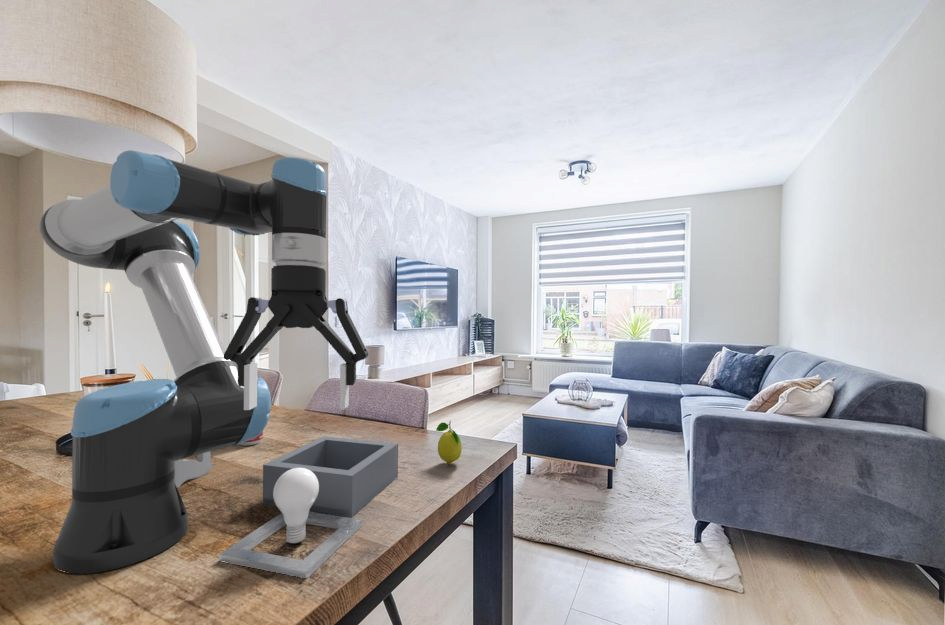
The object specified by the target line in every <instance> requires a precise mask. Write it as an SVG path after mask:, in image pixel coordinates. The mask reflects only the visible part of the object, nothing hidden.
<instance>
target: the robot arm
mask: <svg viewBox="0 0 945 625" xmlns="http://www.w3.org/2000/svg"><path fill="white" fill-rule="evenodd" d="M270 177H271V180H269V181H266V182H262V183H253V182H248V181H246V180H241V179H238V178H235V177H231V176H228V175H225V174H224V175H223V174H220V173H217V172H214V171H210V170H206V169H203V168H200V167H196V166H193V165H189V164H186V163H183V162H179V161H175V160H173V159H169V158H167V157H164V156H162V155H159V154H152V153H151V154H150V153H146V152H141V151H137V150H131V149H130V150H125V151H122V152H121V153H120V154H118V156H117V157H116V161H115V162H113V164H112V167H111V172H110V179H109V181H110V182H109V184H107V185H106V186H103V187H102V188H100V189H98V190H96V191H93V192H92V193H91V194H88V195H86V196H84V197H82V198H81V199H79V198H78V199H76V198H73V199H65V200H63V201H60V202H57V203H56V204H54V205H51V206H50V207H49V208H47V209H46V210H45V211H44V213H43V214H42V216H41V217H40V221H39V232H40V234H41V237H42V239H43V241H44V243H45V244H46V246H48V247H49V248H50V249H51V250H52V251H53V252H55V254H57V255H58V256H60V257H63V259H66V260H68V261H69V262H73V263H76V264H77V265H81V266H85V267H88V268H89V267H90V268H94V269H104V270H119V271H124V272H125V275H126V277H127V280H128V281H129V282H130V283H131V284H132V285H134V286H135V287H137V288H140V289H141V291H142V293H143V295H144V298H145V300H146V304H147V305H148V308H149V310H150V313H151V316H152V318H153V321H154V323H155V326H156V328H157V331H158V334H159V336H160V338H161V341H162V344H163V347H164V349H165V351H166V353H167V357H168V359H169V361H170V365H171V367H172V369H173V372H174V374H175V379H174V380H173V379H168V378H153V379H146V380H137V381H131V382H126V383H121V384H115V385H113V386H112V385H111V386H108V387H103V388H101V389H98V390H95V391H92V392H91V393H88V394H86V395H85V396H83V397H81V398H80V399H79V400H78V401H77V403H76V404H75V406H74V408H73V409H74V411H73V418H72V426H71V429H70V435H71V437H72V449H71V450H72V452H71V453H72V456H71V457H72V458H71V460H72V462H71V464H72V467H71V468H72V471H71V472H72V473H71V479H72V480H71V482H72V483H71V490H72V491H71V504H70V507H69V509H68V511H67V514H66V516H65V518H64V521H63V524H62V527H61V529H60V531H59V533H58V537H57V539H56V541H55V543H54V545H53V554H52V555H53V558H52V559H53V560H52V561H53V562H52V563H53V564H54V565H53V567H54V566H55V567H56V568H57V569H59V570H62V571H65V572H69V573H68V574H70V573H77V574H76V575H83V574H84V575H85V573H87V574H96V573H101V572H107V571H111V570H116V569H120V568H122V567H124V568H125V567H126V566H129V565H133V564H137V563H139V562H142V561H144V560H147V559H149V558H151V557H153V556H157V554H160V553H162V552H164V551H165V550H167V549H169V548H170V547H172V546H174V545H175V544H177V543H178V542H179V541H180V540H181V539H182V538H183V537H184V536H185V534H186V533H187V532H188V526H189V525H188V524H189V522H188V519H189V518H188V511H187V509H186V506H185V504H184V501H183V499H182V496H181V494H180V491H179V489H178V488H177V486H176V484H175V461H176V460H183V459H187V458H191V457H193V456H197V455H198V454H202V453H206V452H210V451H211V452H214V451H217V450H221V449H224V448H225V449H226V448H228V447H235V446H239V445H240V443H242V442H245V441H248V440H251V439H254V438H256V437H257V436H259V435H260V434H261V433H262V431H263V432H264V430H265V428H266V427H267V425H268V422H269V419H270V415H271V414H270V413H271V409H272V399H271V397H272V396H271V392H270V388H269V386H268V383H267V382H266V381H265V380H264V378H262V377H260V376H258V365H259V364H258V362H254V359H255V358H256V357H257V356H258V354H259V353H260V352H261V351H262V350H263V349H264V348H265V347H266V345H268V344H269V342H270V341H271V340H272V339H273V337H275V335H276V334H277V333H278V332H279V331H280V330H282V328H285V329H293V328H294V329H295V328H300V329H311V328H315V330H316V331H318V332H319V333H320V334H321V336H322V337H323V338H324V339H325V340H326V342H327V343H328V344H329V345H330V346H331V347H332V348H333V349H334V351H335V352H336V353H337V354H338V355H339V356H340V357H341V359H342V360H343V361H344V362H343V363H341V364H340V365H339V367H340V368H339V370H340V371H339V409H340V410H345V409H346V408H348V407H349V404H350V398H349V396H350V386H354V385H355V384H356V381H357V363H358V362H360V361H362V360H363V361H364V360H365V359H367V358H368V357H369V352H368V350H367V348H366V346H365V344H364V342H363V340H362V337H361V336H360V334H359V332H358V330H357V328H356V326H355V323H354V321H353V320H352V318H351V316H350V314H349V307H348V301H347V299H345V298H340V297H339V298H337V299H333V300H331V299H330V300H328V299H327V297H326V296H327V295H326V290H327V289H326V288H327V285H326V284H327V281H326V280H327V278H326V274H327V273H326V272H327V271H326V270H325V268H323V266H324V265H325V264H327V262H326V261H327V245H326V244H327V237H326V236H327V199H328V198H327V196H328V192H327V190H328V189H327V178H326V177H327V176H326V171H325V169H324V168H323V167H322V166H321V165H319V164H318V163H316V162H314V161H311V160H309V159H306V158H305V159H304V158H300V157H291V156H290V157H282V158H278V159H276V160H275V161H274V163H273V164H272V171H271V174H270ZM176 220H183V221H190V222H195V223H201V224H206V225H212V226H216V227H223V228H228V229H229V230H230V231H232V232H234V233H235V234H238V235H242V236H260V235H265V234H268V233H271V261H272V262H273V263H274V264H276V265H273V267H272V268H271V273H270V274H271V275H270V276H271V277H270V278H271V281H270V283H271V286H270V287H271V288H270V289H271V290H270V291H271V295H270V298H269V299H264V298H263V299H262V297H261V298H260V297H254V296H253V297H249V298H248V300H247V305H246V313H244V316H243V317H242V319H241V322H240V324H239V325H238V327H237V329H236V331H235V333H234V334H233V337H232V338H231V340H230V342H229V343H228V346H227V348H226V350H225V348H224V346H223V343H222V341H221V339H220V336H219V335H218V332H217V330H216V328H215V325H214V323H213V321H212V319H211V317H210V315H209V312H208V310H207V308H206V306H205V304H204V301H203V299H202V297H201V295H200V293H199V290H198V288H197V285H196V284H195V281H194V280H193V274H194V273H195V271H196V269H197V267H198V266H199V263H200V258H201V252H200V251H199V248H200V243H199V241H198V237H197V235H196V234H195V232H194V231H193V229H192V228H191V227H190V226H188V225H186V223H185V224H184V223H182V222H179V221H176ZM267 309H269V310H270V312H271V314H273V316H272V318H270V320H269V321H268V322H266V326H265V327H264V328H263V329H262V330H261V331H260V333H258V334H257V336H256V337H255V338H254V339H253V340H252V341H251V342H250V343H249V345H248V346H246V345H247V343H248V341H249V339H250V337H251V335H252V333H253V332H254V329H255V328H256V326H257V324H258V323H259V321H260V318H261V317H262V316H261V315H262V314H263V313H265V312H266V310H267ZM328 309H331V312H332V313H333V314H336V315H337V318H338V321H339V323H340V325H341V326H342V329H343V330H344V332H345V335H346V336H347V338H348V341H349V342H350V345H351V346H352V348H353V350H354V352H353V351H352V350H351V348H349V346H348V345H347V343H345V342H344V341H343V339H342V338H341V337H340V336H339V335H338V334H337V333H336V331H335V330H334V329H333V328H332V327H331V325H330V324H329V322H328V321H327V320H326V318H325V317H323V316H324V315H325V313H326V312H327V311H328ZM245 347H246V348H245ZM244 348H245V349H244ZM211 452H210V453H211ZM55 567H54V568H55ZM56 568H55V569H56ZM57 569H56V570H57ZM59 570H58V571H59Z"/></svg>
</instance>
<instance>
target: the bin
mask: <svg viewBox="0 0 945 625" xmlns="http://www.w3.org/2000/svg"><path fill="white" fill-rule="evenodd" d="M293 468H306V469H309V470H310V471H312V472H313V473H314V474H315V475H316V477H317V479H318V482H319V492H318V496H317V498H316V500H315V502H314V503H313V505H312V506H311V508H310V510H309V512H316V513H322V514H329V515H335V516H342V517H349V518H354V516H355V515H357V514H358V513H359V512H360V511H362V509H363V508H364V507H366V506H367V505H368V504H369V503H370V502H371V501H372V500H373V499H374V498H376V497H377V496H378V495H379V494H380V493H381V492H383V491H384V490H385V489H386V488H387V487H388V486H389V485H390V484H391V483H393V482H394V481H395V480H397V478H398V477H399V443H397V442H386V441H375V440H365V439H356V438H355V439H354V438H345V437H335V436H325V435H323V436H321V437H318V438H317V439H315V440H313V441H311V442H308V443H307V444H305V445H302V446H299V447H298V448H296V449H294V450H292V451H289V452H286V453H285V454H283V455H281V456H279V457H277V458H274V459H273V460H270V461H268V462H266V463H264V464H262V504H263V505H268V506H269V505H270V506H276V504H275V502H274V498H273V490H274V486H275V484H276V482H277V480H278V479H279V477H280V476H281V475H282V474H283V473H285V472H286V471H288V470H290V469H293ZM276 507H277V506H276Z"/></svg>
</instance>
